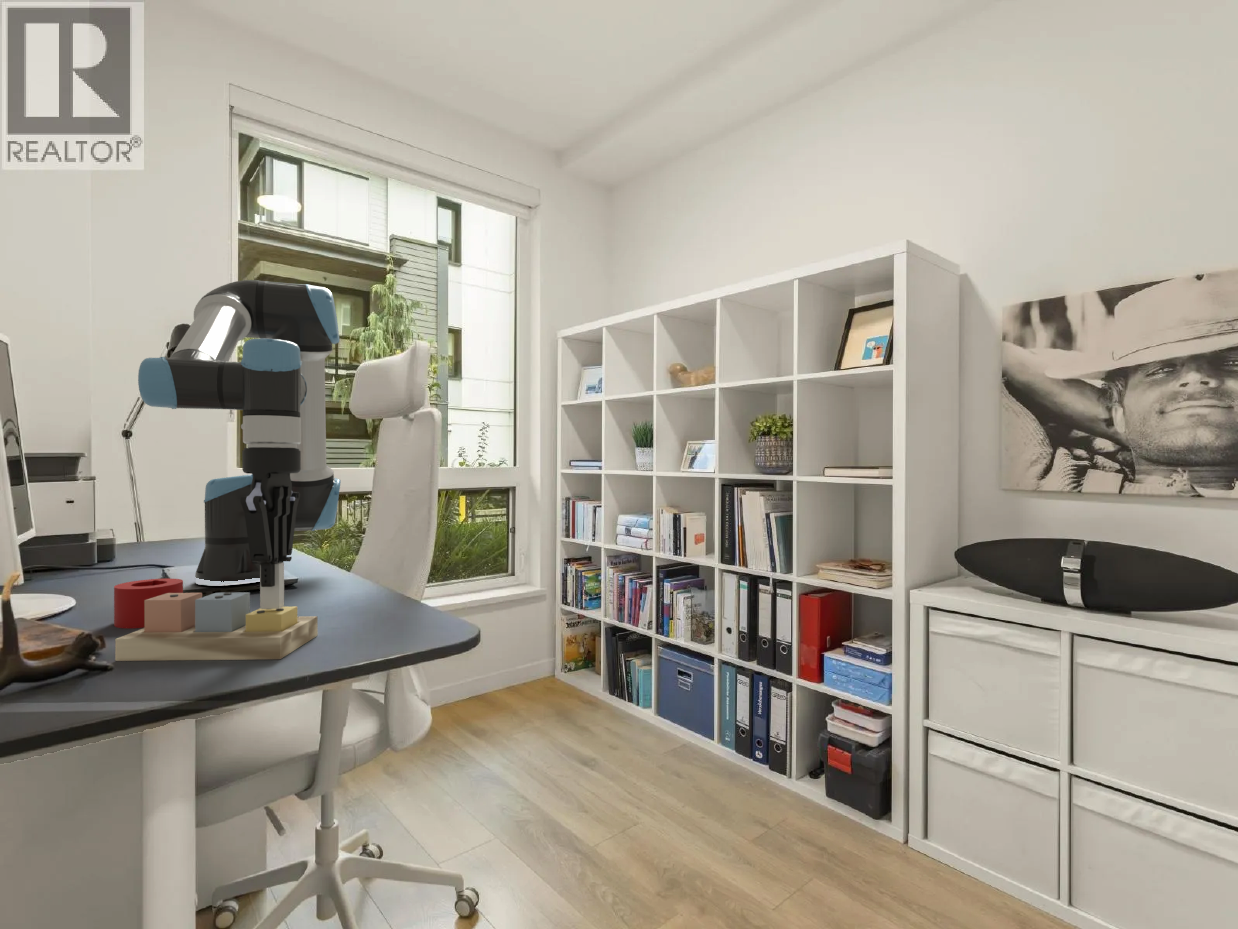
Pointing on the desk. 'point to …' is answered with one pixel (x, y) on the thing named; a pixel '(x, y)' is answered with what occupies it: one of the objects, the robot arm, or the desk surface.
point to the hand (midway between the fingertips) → (272, 607)
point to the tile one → (170, 612)
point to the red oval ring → (139, 599)
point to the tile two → (221, 612)
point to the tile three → (271, 619)
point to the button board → (215, 643)
